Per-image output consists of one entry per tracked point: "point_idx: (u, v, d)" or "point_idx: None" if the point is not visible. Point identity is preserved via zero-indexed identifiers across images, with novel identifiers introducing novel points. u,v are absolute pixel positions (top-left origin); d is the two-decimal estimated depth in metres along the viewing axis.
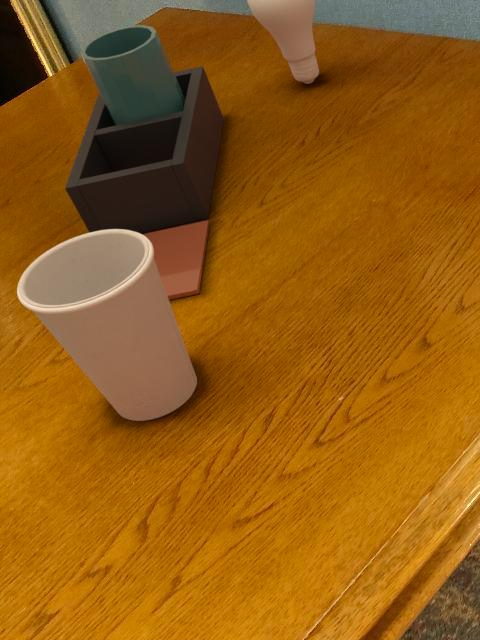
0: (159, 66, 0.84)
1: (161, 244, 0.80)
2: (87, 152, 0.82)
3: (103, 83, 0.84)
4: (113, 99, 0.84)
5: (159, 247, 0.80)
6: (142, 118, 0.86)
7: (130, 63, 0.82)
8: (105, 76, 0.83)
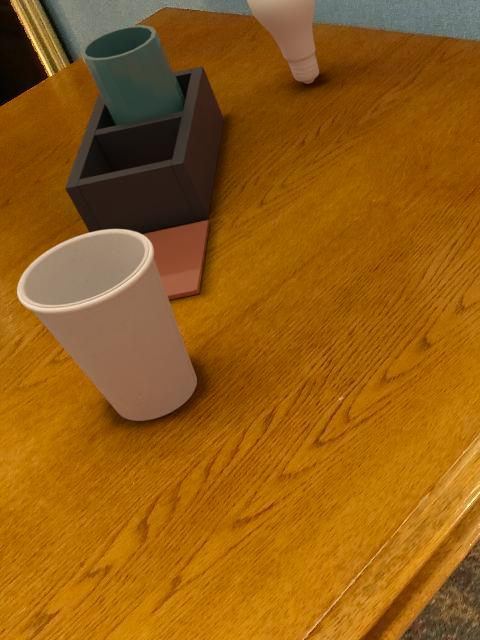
0: (159, 66, 0.84)
1: (161, 244, 0.80)
2: (87, 152, 0.82)
3: (103, 83, 0.84)
4: (113, 99, 0.84)
5: (159, 247, 0.80)
6: (142, 118, 0.86)
7: (130, 63, 0.82)
8: (105, 76, 0.83)
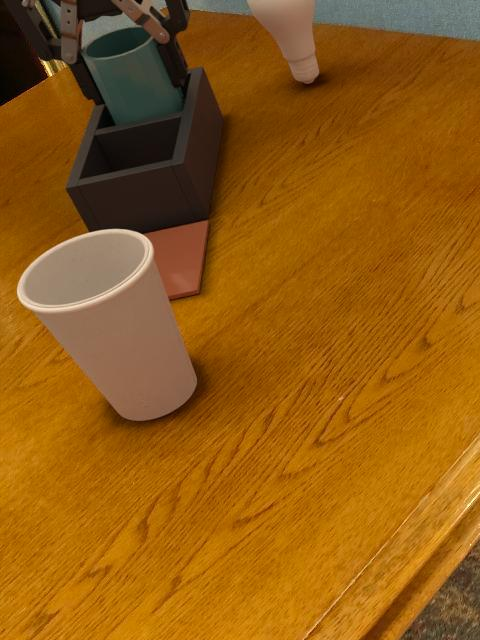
0: (159, 67, 0.84)
1: (161, 244, 0.80)
2: (87, 152, 0.82)
3: (103, 83, 0.84)
4: (113, 99, 0.84)
5: (159, 247, 0.80)
6: (142, 118, 0.86)
7: (130, 63, 0.82)
8: (105, 76, 0.83)
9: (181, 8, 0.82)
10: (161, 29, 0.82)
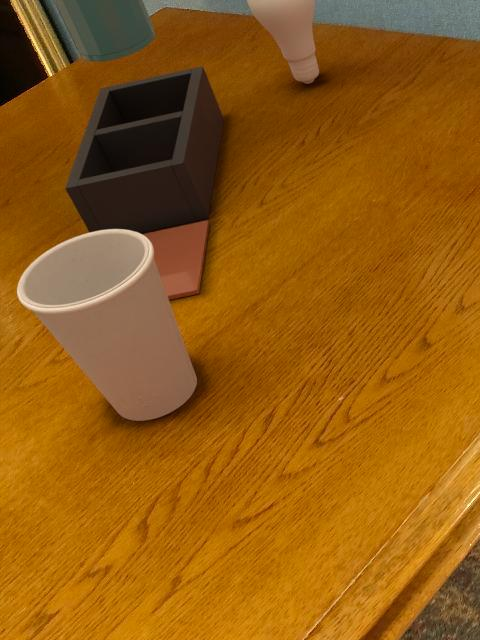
0: None
1: (161, 244, 0.80)
2: (87, 152, 0.82)
3: None
4: None
5: (159, 247, 0.80)
6: None
7: None
8: None
9: None
10: None
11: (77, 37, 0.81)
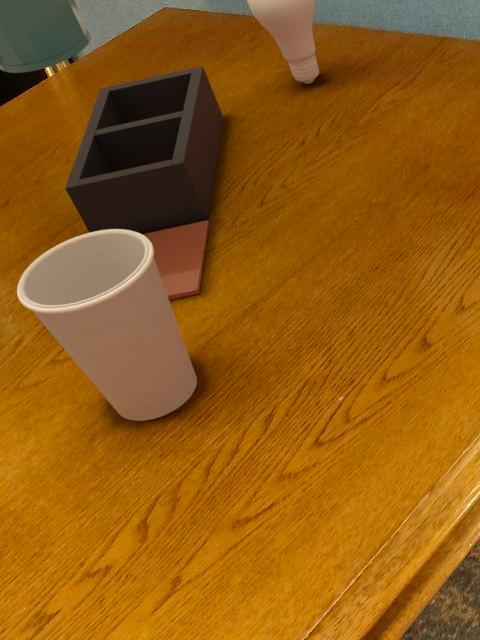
0: None
1: (161, 244, 0.80)
2: (87, 152, 0.82)
3: None
4: None
5: (159, 247, 0.80)
6: None
7: None
8: None
9: None
10: None
11: None
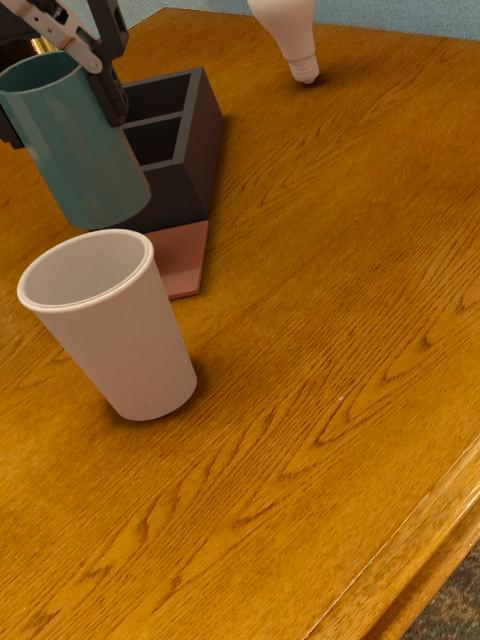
0: (91, 102, 0.67)
1: (161, 244, 0.80)
2: None
3: (20, 123, 0.67)
4: (33, 142, 0.67)
5: (159, 247, 0.80)
6: (71, 165, 0.69)
7: (52, 98, 0.65)
8: (21, 114, 0.66)
9: (115, 29, 0.64)
10: (91, 55, 0.65)
11: (63, 204, 0.71)
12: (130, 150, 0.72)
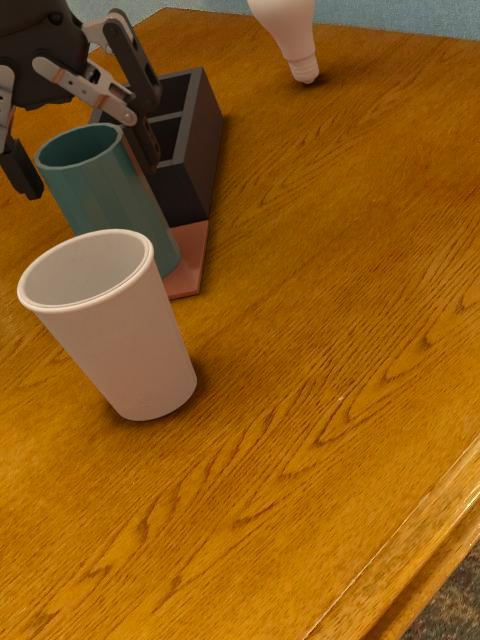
0: (127, 174, 0.71)
1: None
2: None
3: (60, 194, 0.70)
4: (72, 212, 0.71)
5: None
6: None
7: (91, 173, 0.69)
8: (62, 187, 0.70)
9: (147, 84, 0.67)
10: (125, 109, 0.68)
11: None
12: (162, 215, 0.76)
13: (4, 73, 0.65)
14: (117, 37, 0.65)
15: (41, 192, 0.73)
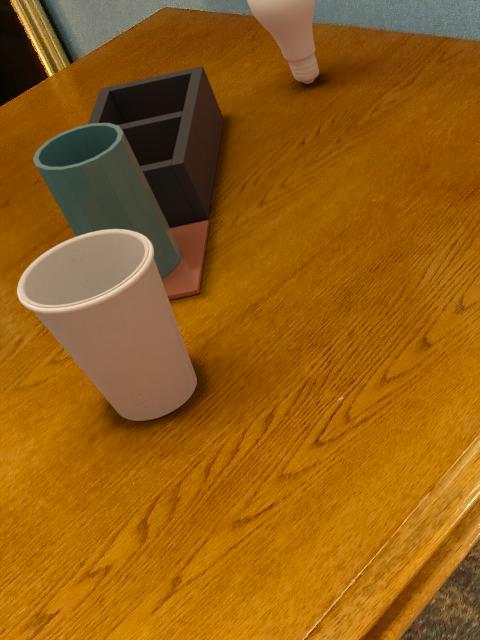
0: (127, 174, 0.71)
1: None
2: None
3: (60, 194, 0.70)
4: (72, 212, 0.71)
5: None
6: None
7: (91, 173, 0.69)
8: (62, 187, 0.70)
9: None
10: None
11: None
12: (162, 215, 0.76)
13: None
14: None
15: None
